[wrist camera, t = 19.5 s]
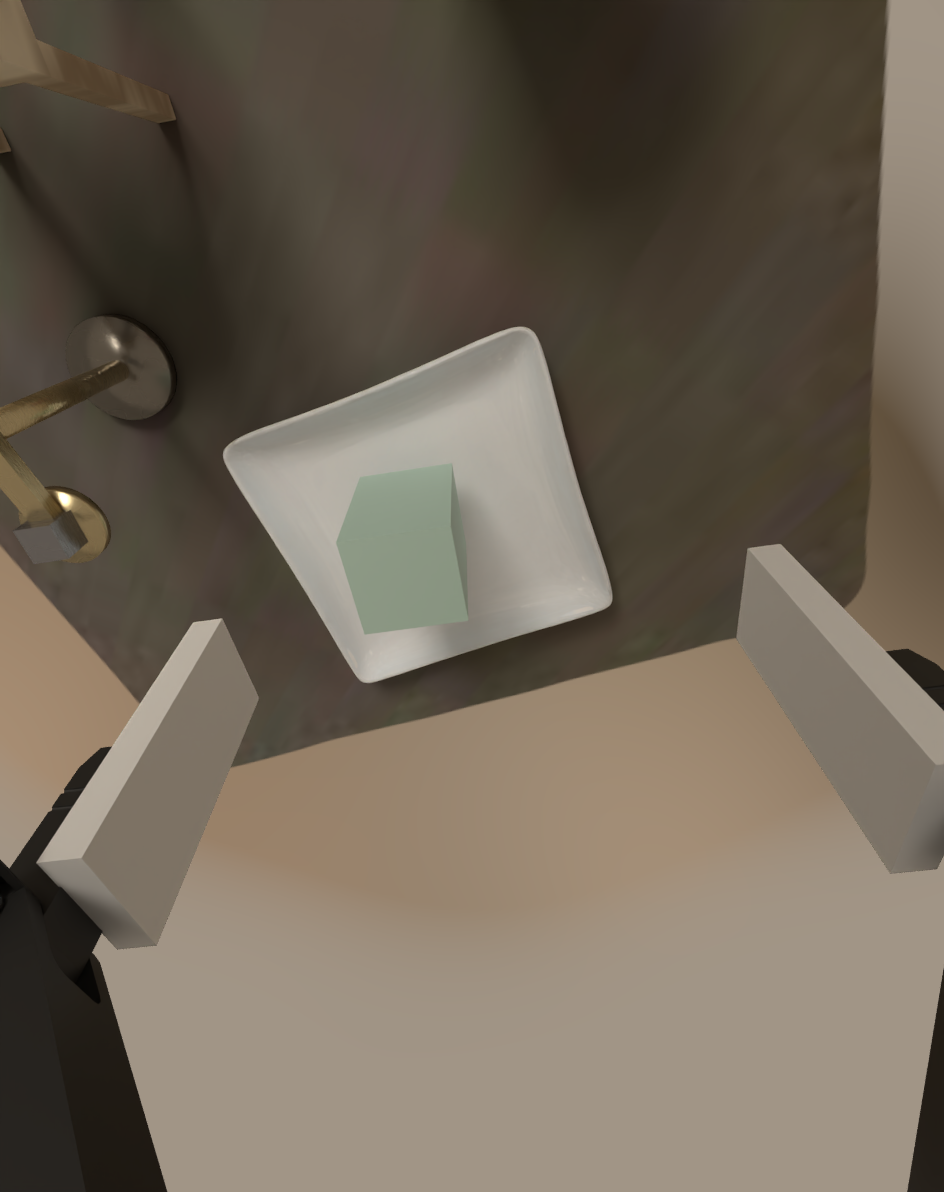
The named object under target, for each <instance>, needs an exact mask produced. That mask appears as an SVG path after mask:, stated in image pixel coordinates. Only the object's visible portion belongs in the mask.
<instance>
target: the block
mask: <svg viewBox="0 0 944 1192" xmlns="http://www.w3.org/2000/svg"><path fill="white" fill-rule="evenodd" d="M336 544H337V547H338V551H339V554H340V557H341V560H342V564H343V567H344V570H345V573H346V576H347V580H348V583H349V586H350V589H351V592H352V596H353V599H354V602H355V605H356V609H357V612H358V615H359V618H360V621H361V625H362V628H363V631H364V634H365V635H366V634H373V633H381V632H388V631H396V630H403V629H411V628H418V627H425V626H433V625H440V624H448V623H455V622H463V621H468V587H467V554H466V541H465V535H464V530H463V524H462V518H461V512H460V507H459V501H458V495H457V489H456V484H455V478H454V472H453V467H452V463H449V464H443V465H436V466H430V467H423V468H416V469H410V470H403V471H397V472H390V473H383V474H377V475H370V476H364V477H360V478H359V481H358V484H357V487H356V489H355V492H354V495H353V497H352V500H351V503H350V506H349V508H348V511H347V514H346V517H345V519H344V522H343V525H342V527H341V530H340V533H339V536H338V538H337V541H336Z"/></svg>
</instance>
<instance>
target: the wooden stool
mask: <svg viewBox="0 0 944 1192" xmlns="http://www.w3.org/2000/svg"><path fill="white" fill-rule="evenodd" d="M20 83H29V84H32V85H35V86H38V87H42V88H45V89H48V90H51V91H55V92H58V93H61V94H64V95H68V96H71V97H74V98H77V99H81V100H84V101H87V102H90V103H94V104H97V105H100V106H103V107H107V108H110V109H113V110H116V111H120V112H123V113H126V114H129V115H133V116H136V117H139V118H142V119H146V120H149V121H152V122H155V123H162V122H167V121H172V120H176V117H175V114H174V111H173V108H172V105H171V102H170V99H169V95H168V94H166V93H163V92H161V91H158V90H156V89H154V88H151V87H149V86H146V85H144V84H142V83H139V82H137V81H134V80H132V79H130V78H127V77H125V76H123V75H120V74H118V73H115V72H113V71H111V70H108V69H106V68H103V67H101V66H99V65H96V64H94V63H91V62H89V61H87V60H84V59H82V58H79V57H77V56H75V55H72V54H70V53H67V52H65V51H63V50H60V49H58V48H55V47H53V46H51V45H48V44H46V43H43V42H41V41H39V40H36V38H35V35H34V33H33V30H32V28H31V25H30V23H29V20H28V18H27V16H26V13H25V11H24V8H23V6H22V3H21V1H20V0H0V87H5V86H10V85H15V84H20ZM10 151H11V149H10V147H9V144H8V142H7V140H6V138H5V136H4V133H3V131H2V129H1V127H0V153H4V152H10Z"/></svg>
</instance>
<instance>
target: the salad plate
mask: <svg viewBox="0 0 944 1192" xmlns="http://www.w3.org/2000/svg"><path fill="white" fill-rule="evenodd" d="M223 458H224V462H225V464H226V466H227V468H228V470H229V472H230V474H231V475H232V477H233V479H234V481H235V482H236V484H237V486H238V487H239V489H240V490H241V492H242V494H243V495H244V497H245V498H246V500H247V501H248V503H249V505H250V506H251V508H252V509H253V511H254V512H255V514H256V515H257V517H258V518H259V520H260V522H261V523H262V525H263V526H264V528H265V529H266V531H267V532H268V534H269V535H270V537H271V538H272V540H273V541H274V543H275V545H276V546H277V548H278V549H279V551H280V552H281V554H282V555H283V557H284V559H285V560H286V562H287V563H288V565H289V566H290V568H291V570H292V571H293V573H294V574H295V576H296V578H297V579H298V581H299V582H300V584H301V586H302V587H303V589H304V590H305V592H306V594H307V595H308V597H309V599H310V600H311V602H312V604H313V605H314V607H315V608H316V610H317V612H318V613H319V615H320V617H321V619H322V620H323V622H324V624H325V625H326V627H327V629H328V630H329V632H330V634H331V635H332V637H333V639H334V641H335V642H336V644H337V646H338V647H339V649H340V651H341V652H342V654H343V656H344V657H345V659H346V661H347V662H348V664H349V666H350V667H351V669H352V670H353V672H354V673H355V675H356V676H357V677H358V679H359V680H360V681H362V682H365V683H373V682H377V681H380V680H383V679H386V678H390V677H393V676H396V675H399V674H402V673H405V672H408V671H411V670H414V669H417V668H420V667H423V666H426V665H429V664H432V663H435V662H438V661H441V660H445V659H448V658H451V657H454V656H457V655H460V654H463V653H466V652H469V651H472V650H475V649H479V648H482V647H485V646H488V645H491V644H494V643H497V642H500V641H503V640H507V639H510V638H513V637H517V636H520V635H523V634H527V633H530V632H534V631H537V630H540V629H544V628H547V627H551V626H555V625H558V624H561V623H564V622H568V621H571V620H575V619H578V618H581V617H584V616H587V615H590V614H593V613H596V612H599V611H601V610H604V609H606V608H607V607H609V606H610V605H611V603H612V588H611V584H610V581H609V577H608V573H607V569H606V566H605V563H604V560H603V557H602V554H601V551H600V548H599V545H598V542H597V539H596V536H595V533H594V530H593V527H592V524H591V521H590V518H589V515H588V512H587V509H586V506H585V503H584V500H583V497H582V494H581V490H580V487H579V484H578V480H577V477H576V473H575V470H574V466H573V462H572V459H571V455H570V451H569V448H568V444H567V441H566V437H565V433H564V429H563V425H562V421H561V417H560V414H559V410H558V406H557V402H556V398H555V394H554V390H553V386H552V382H551V378H550V374H549V370H548V366H547V363H546V360H545V357H544V353H543V350H542V347H541V344H540V342H539V340H538V338H537V336H536V335H535V333H534V332H533V331H532V330H530V329H529V328H526V327H514V328H510V329H506V330H503V331H500V332H497V333H495V334H492V335H490V336H488V337H485V338H483V339H480V340H478V341H476V342H473V343H471V344H469V345H467V346H465V347H463V348H460V349H458V350H456V351H453V352H451V353H449V354H447V355H444V356H442V357H440V358H438V359H435V360H433V361H431V362H429V363H427V364H424V365H422V366H420V367H418V368H415V369H413V370H411V371H408V372H406V373H404V374H401V375H399V376H397V377H394V378H392V379H390V380H387V381H385V382H383V383H380V384H378V385H376V386H373V387H371V388H369V389H366V390H364V391H361V392H359V393H356V394H354V395H351V396H349V397H346V398H343V399H341V400H338V401H336V402H333V403H330V404H328V405H325V406H322V407H319V408H317V409H314V410H312V411H309V412H306V413H304V414H301V415H298V416H295V417H292V418H289V419H286V420H283V421H281V422H278V423H275V424H272V425H269V426H266V427H263V428H260V429H258V430H255V431H253V432H250V433H248V434H246V435H244V436H242V437H240V438H238V439H236V440H234V441H233V442H231V443H230V444H229V445H228V446H227V447H226V448H225V449H224V452H223ZM449 463H452V467H453V472H454V478H455V484H456V489H457V495H458V501H459V507H460V512H461V518H462V524H463V530H464V535H465V541H466V554H467V587H468V621H463V622H455V623H448V624H440V625H433V626H425V627H418V628H411V629H403V630H396V631H388V632H381V633H373V634H366V635H365V634H364V631H363V628H362V625H361V621H360V618H359V615H358V612H357V609H356V605H355V602H354V599H353V596H352V592H351V589H350V586H349V583H348V580H347V576H346V573H345V570H344V567H343V564H342V560H341V557H340V554H339V551H338V547H337V544H336V541H337V538H338V536H339V533H340V530H341V527H342V525H343V522H344V519H345V517H346V514H347V511H348V508H349V506H350V503H351V500H352V497H353V495H354V492H355V489H356V487H357V484H358V481H359V478H360V477H364V476H370V475H377V474H383V473H390V472H397V471H403V470H410V469H416V468H423V467H430V466H436V465H443V464H449Z"/></svg>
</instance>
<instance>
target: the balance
mask: <svg viewBox="0 0 944 1192" xmlns="http://www.w3.org/2000/svg"><path fill="white" fill-rule="evenodd" d="M66 361H67V366H68V369H69V372H70V374H71V377H72V378H70V379H68V380H65V381H63V382H60V383H58V384H56V385H53V386H51V387H49V388H46V389H44V390H41V391H39V392H37V393H34V394H32V395H29V396H27V397H25V398H22V399H20V400H17V401H15V402H13V403H10V404H8V405H5V406H3V407H1V408H0V488H1V489H2V490H3V492H4V493H5V494H6V495H7V496H8V497H9V499H10V500H11V501H12V502H13V503H14V505H15V506H16V507H17V508H18V509H19V520H20V524H21V525H20V526H19V527H18V528H16V529H15V530H13V532H14V534H15V535H16V537H17V538H18V540H19V542H20V543H21V545H22V546H23V548H24V549H25V551H26V552H27V554H28V556H29V557H30V559H31V560H32V562H33V563H34V564H36V563H43V562H50V561H57V560H61V561H65V562H71V563H83V562H87V561H90V560H92V559H94V558H96V557H97V556H98V555H99V554H100V553H102V552H103V551H104V550H105V549H106V547H107V546H108V544H109V542H110V538H111V529H110V525H109V522H108V519H107V517H106V516H105V514H104V513H103V511H102V510H101V509H100V507H99V506H98V505H97V504H96V503H94V502H93V501H92V500H91V499H90V498H88V497H87V496H85V495H83V494H82V493H80V492H78V491H75V490H73V489H70V488H66V487H61V486H48V487H43V486H42V484H41V483H40V482H39V481H38V479H37V478H36V477H35V475H34V474H33V473H32V472H31V470H30V469H29V468H28V467H27V465H26V464H25V463H24V461H23V460H22V459H21V458H20V456H19V455H18V454H17V453H16V451H15V450H14V449H13V447H12V446H11V445H10V444H9V442H8V441H7V440H6V439H7V438H9V437H11V436H13V435H15V434H17V433H19V432H21V431H23V430H25V429H27V428H29V427H31V426H33V425H35V424H37V423H39V422H41V421H43V420H45V419H47V418H49V417H51V416H53V415H56V414H58V413H60V412H62V411H64V410H66V409H68V408H70V407H72V406H74V405H76V404H78V403H80V402H82V401H84V400H86V399H88V400H89V401H90V402H91V403H92V404H94V405H95V406H96V407H98V408H99V409H101V410H102V411H104V412H106V413H108V414H110V415H112V416H115V417H118V418H122V419H127V420H141V419H145V418H148V417H151V416H153V415H154V414H156V413H158V412H159V411H161V410H162V409H164V408H165V407H166V406H167V405H168V404H169V403H170V401H171V400H172V398H173V396H174V393H175V390H176V385H177V375H176V369H175V365H174V362H173V359H172V357H171V355H170V353H169V351H168V349H167V348H166V346H165V345H164V343H163V342H162V341H161V340H160V339H159V337H158V336H157V335H156V334H155V333H154V332H152V331H151V330H150V329H149V328H147V327H146V326H145V325H143V324H142V323H140V322H138V321H136V320H134V319H132V318H129V317H126V316H122V315H117V314H105V315H100V316H96V317H92V318H89V319H86V320H84V321H82V322H81V323H79V324H78V325H77V326H76V327H75V328H74V329H73V330H72V332H71V333H70V335H69V337H68V340H67V344H66Z"/></svg>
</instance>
